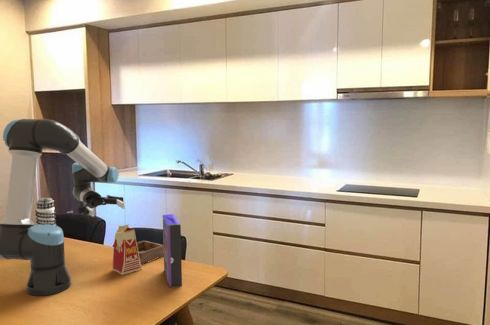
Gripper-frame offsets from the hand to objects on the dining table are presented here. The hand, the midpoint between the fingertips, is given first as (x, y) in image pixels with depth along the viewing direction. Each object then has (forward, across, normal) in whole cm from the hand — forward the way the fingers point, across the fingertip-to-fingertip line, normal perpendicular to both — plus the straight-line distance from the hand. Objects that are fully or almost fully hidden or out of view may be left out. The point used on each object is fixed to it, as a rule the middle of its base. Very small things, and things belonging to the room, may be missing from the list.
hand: (108, 209), depth 173 cm
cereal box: (+32, -11, -23) cm, 41 cm away
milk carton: (+12, 0, -24) cm, 27 cm away
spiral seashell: (-41, +17, -26) cm, 52 cm away
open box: (+2, -12, -26) cm, 29 cm away
